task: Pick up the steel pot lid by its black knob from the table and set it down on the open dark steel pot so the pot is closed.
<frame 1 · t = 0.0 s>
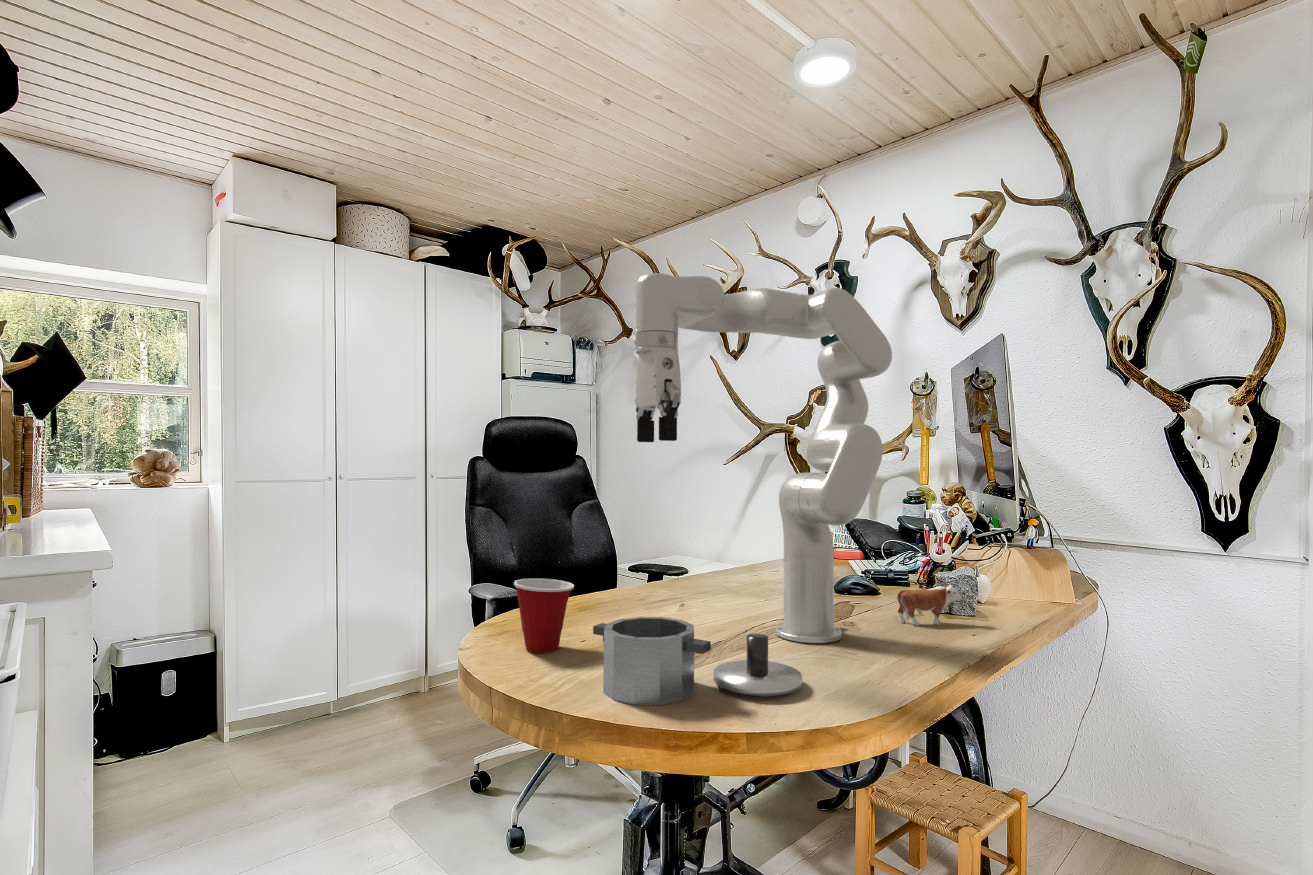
hand: (656, 441, 115), 37 cm above the table, fingers open, 9 cm apart
plastic cup: (543, 649, 117), on the table
bar clamp: (644, 657, 114), on the table
bull figurine: (928, 624, 137), on the table
pot: (649, 688, 97), on the table
lid: (757, 686, 98), on the table
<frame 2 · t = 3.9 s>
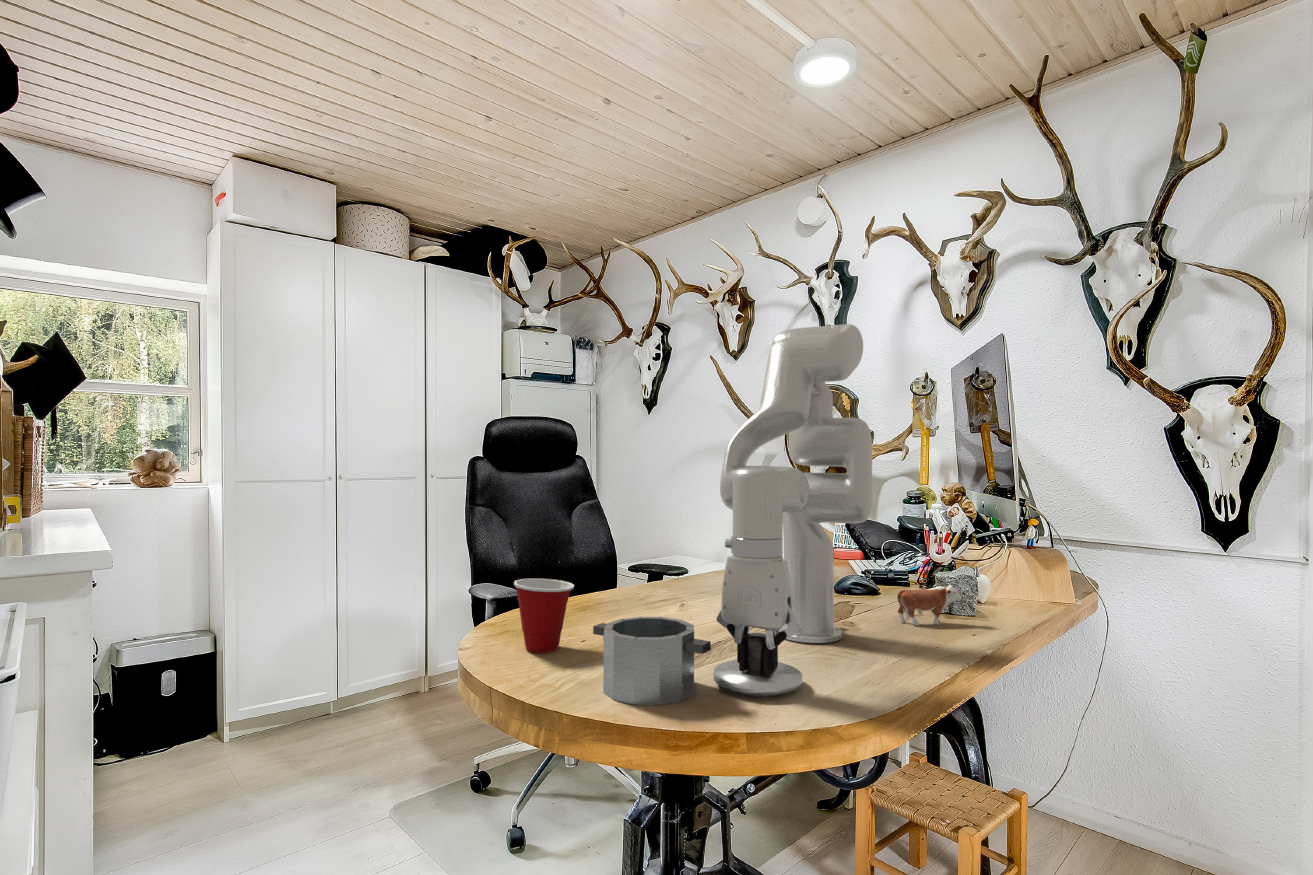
hand: (757, 670, 98), 2 cm above the table, fingers closed on lid, 3 cm apart
lid: (757, 685, 98), on the table, touching gripper
everything else where it was.
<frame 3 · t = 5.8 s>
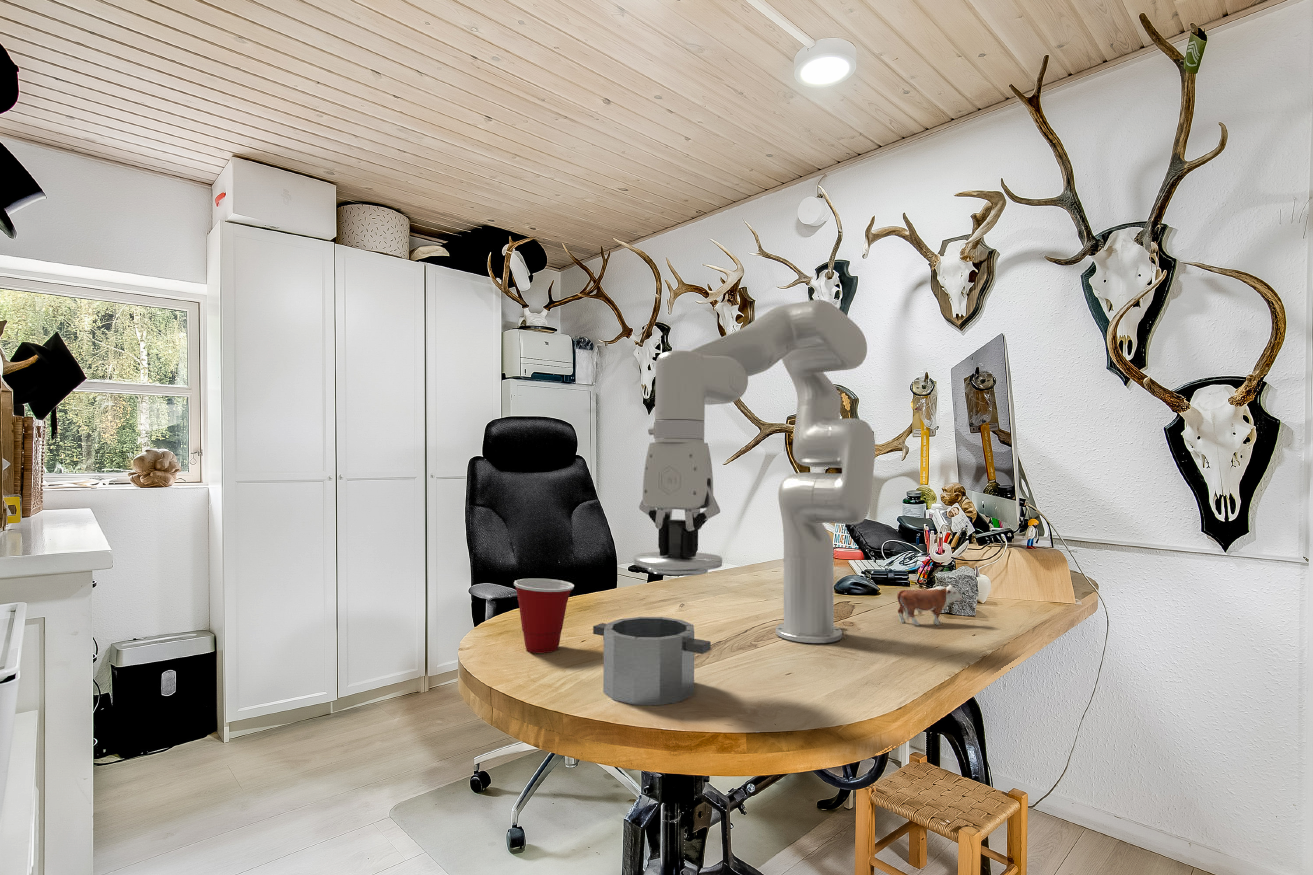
hand: (677, 554, 98), 20 cm above the table, fingers closed on lid, 3 cm apart
bar clamp: (646, 656, 115), on the table, touching pot
lid: (677, 570, 97), point 17 cm above the table, touching gripper
everything else where it was.
when the fingers open (11 cm above the table, at t = 8.2 s): lid stays where it is, resting on pot.
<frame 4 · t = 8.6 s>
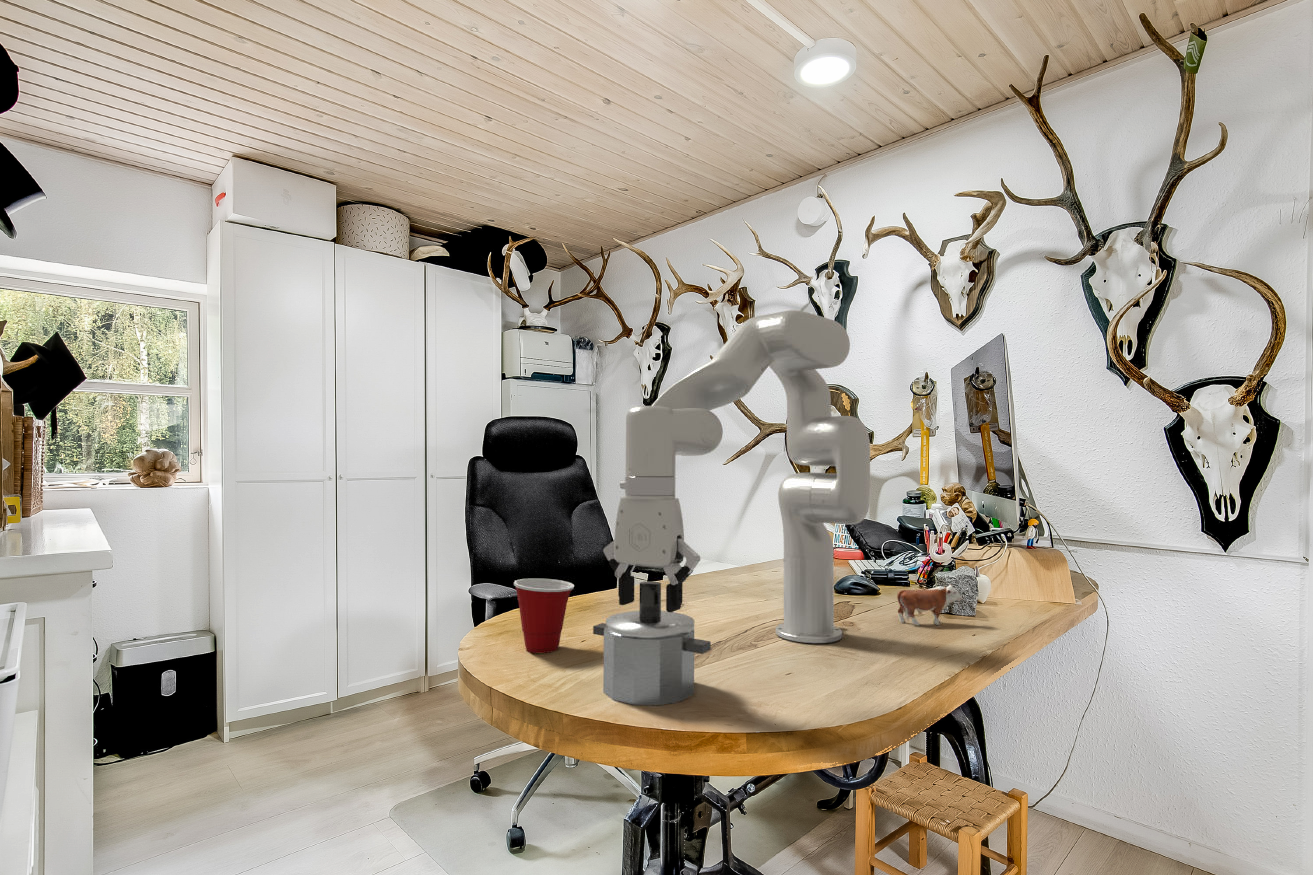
hand: (649, 606, 97), 12 cm above the table, fingers open, 7 cm apart
bar clamp: (647, 656, 115), on the table
lid: (650, 633, 97), point 8 cm above the table, touching pot
everything else where it was.
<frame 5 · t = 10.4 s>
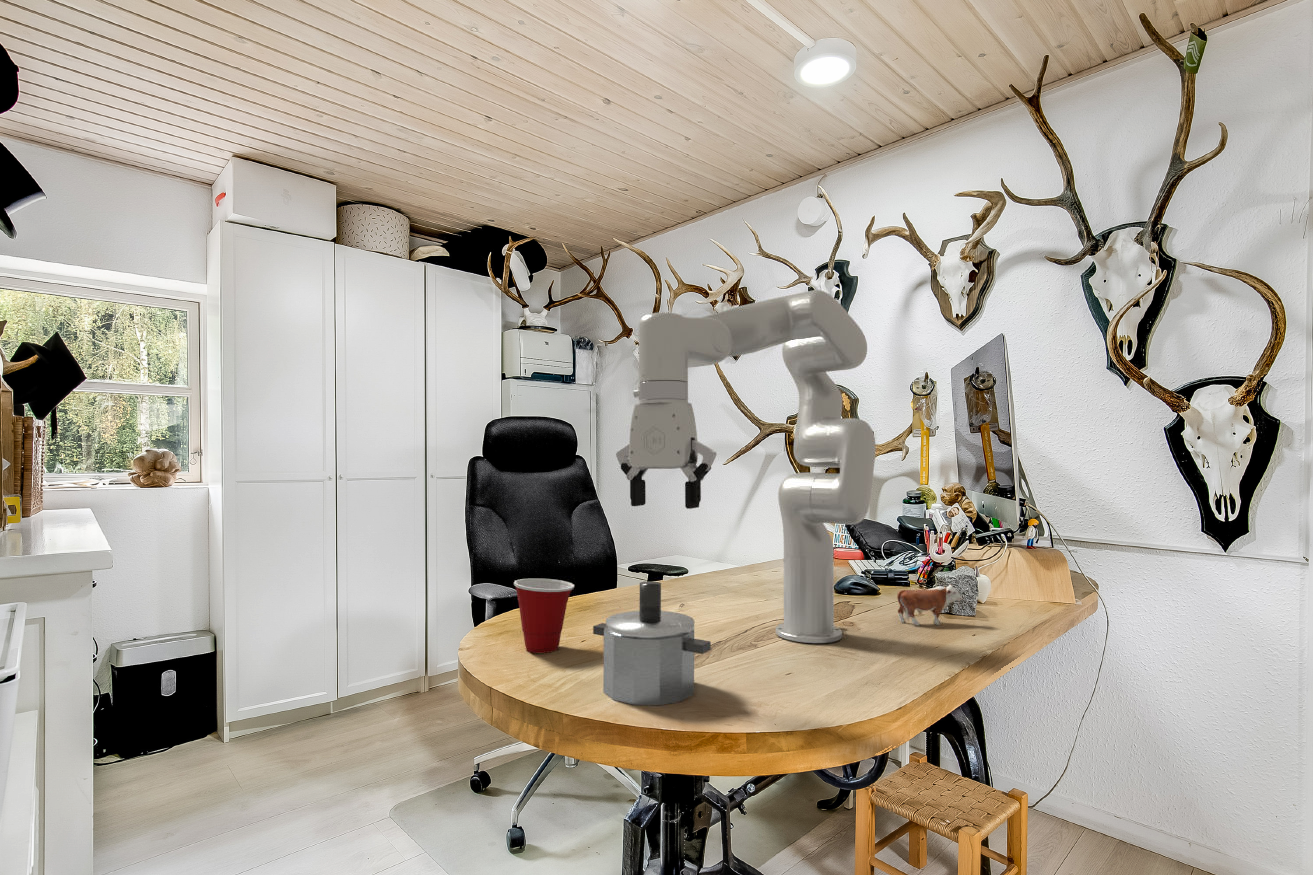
hand: (664, 506, 100), 27 cm above the table, fingers open, 9 cm apart
nothing on the table moved.
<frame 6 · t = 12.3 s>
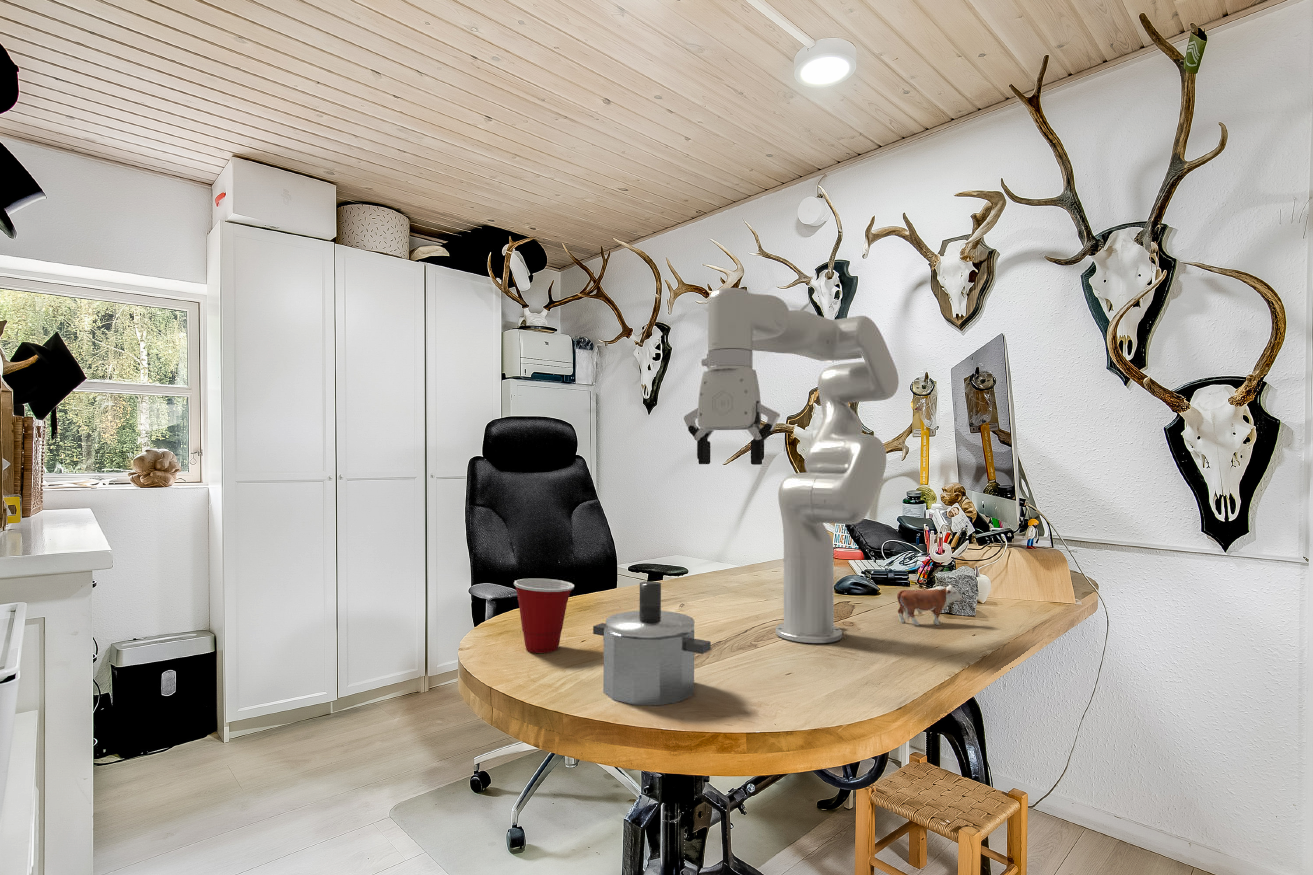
hand: (729, 464, 110), 33 cm above the table, fingers open, 9 cm apart
nothing on the table moved.
at the end: lid 0.1 cm off-centre on the pot, point 8.0 cm above the pot's base; lid tilted 0°; the gripper is holding nothing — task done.
